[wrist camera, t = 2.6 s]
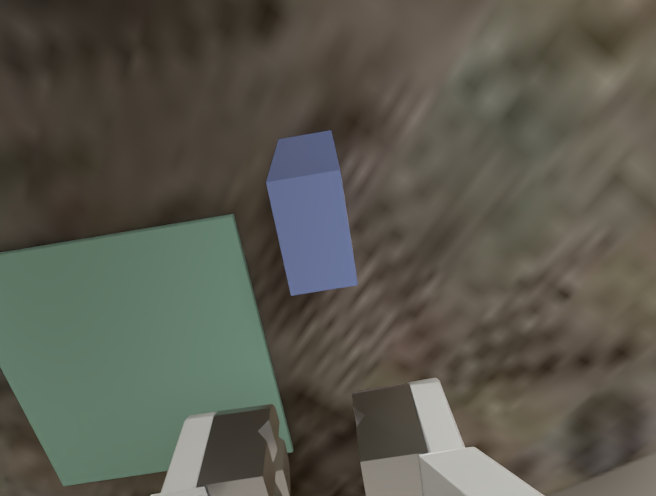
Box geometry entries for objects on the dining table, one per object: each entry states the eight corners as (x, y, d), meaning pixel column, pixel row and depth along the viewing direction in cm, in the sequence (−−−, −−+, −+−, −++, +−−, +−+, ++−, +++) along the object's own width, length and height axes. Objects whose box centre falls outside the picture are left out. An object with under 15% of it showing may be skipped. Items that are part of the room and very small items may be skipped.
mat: (-49, 260, 24) (-55, 264, 23) (233, 213, 23) (232, 216, 23) (66, 480, 30) (63, 486, 30) (293, 446, 29) (292, 452, 29)
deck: (278, 139, 22) (265, 182, 16) (331, 130, 22) (340, 169, 16) (295, 225, 24) (290, 296, 17) (345, 217, 24) (358, 285, 17)
